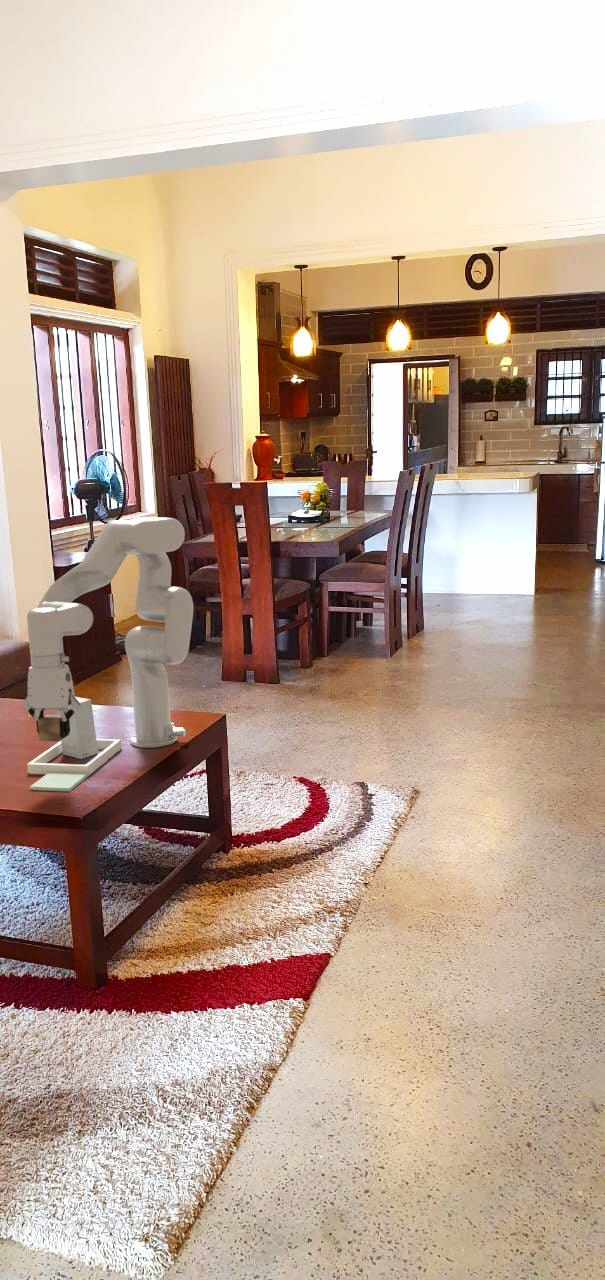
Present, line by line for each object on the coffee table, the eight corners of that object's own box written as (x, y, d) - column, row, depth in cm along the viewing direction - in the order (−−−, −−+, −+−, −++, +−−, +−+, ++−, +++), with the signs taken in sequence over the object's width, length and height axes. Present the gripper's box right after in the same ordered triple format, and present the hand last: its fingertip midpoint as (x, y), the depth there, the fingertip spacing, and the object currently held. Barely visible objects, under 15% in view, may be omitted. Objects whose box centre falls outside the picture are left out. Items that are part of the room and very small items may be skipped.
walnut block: (68, 735, 228) (66, 714, 227) (59, 741, 223) (57, 720, 222) (49, 734, 229) (47, 714, 228) (39, 740, 224) (37, 720, 223)
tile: (87, 776, 233) (87, 773, 232) (69, 791, 223) (69, 788, 223) (49, 775, 235) (49, 772, 235) (30, 789, 225) (29, 786, 225)
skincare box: (98, 754, 249) (94, 699, 246) (79, 760, 245) (74, 704, 242) (79, 748, 255) (74, 694, 252) (60, 754, 250) (55, 699, 247)
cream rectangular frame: (121, 748, 253) (120, 739, 253) (88, 775, 233) (87, 766, 233) (65, 746, 257) (64, 738, 256) (28, 773, 236) (27, 764, 236)
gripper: (88, 657, 225) (94, 732, 228) (21, 656, 228) (28, 730, 232) (74, 664, 217) (80, 741, 221) (6, 663, 221) (13, 739, 224)
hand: (54, 735), depth 226 cm, fingers closed on walnut block, 5 cm apart
